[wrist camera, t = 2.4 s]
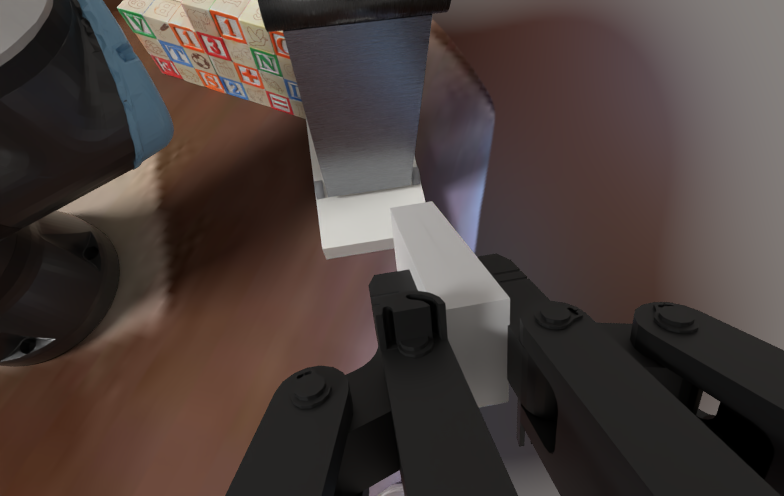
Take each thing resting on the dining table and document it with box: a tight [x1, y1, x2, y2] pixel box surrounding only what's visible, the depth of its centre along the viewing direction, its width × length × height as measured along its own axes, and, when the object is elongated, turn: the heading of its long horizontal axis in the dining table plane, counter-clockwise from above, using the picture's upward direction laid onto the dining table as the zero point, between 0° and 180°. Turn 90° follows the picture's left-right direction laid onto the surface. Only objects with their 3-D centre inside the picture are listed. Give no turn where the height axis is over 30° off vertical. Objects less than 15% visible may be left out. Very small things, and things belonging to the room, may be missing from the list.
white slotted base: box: [306, 118, 425, 259], centre depth 41 cm, size 16×11×7 cm
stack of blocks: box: [117, 0, 306, 119], centre depth 44 cm, size 21×6×12 cm, turn 71°
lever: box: [258, 0, 451, 197], centre depth 30 cm, size 2×10×21 cm, turn 100°
